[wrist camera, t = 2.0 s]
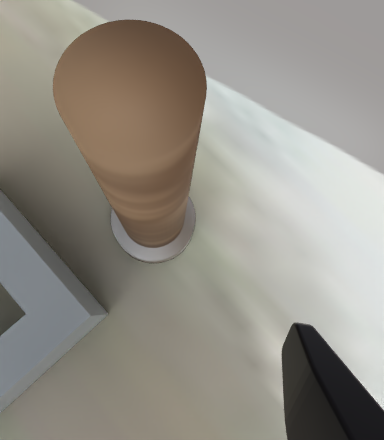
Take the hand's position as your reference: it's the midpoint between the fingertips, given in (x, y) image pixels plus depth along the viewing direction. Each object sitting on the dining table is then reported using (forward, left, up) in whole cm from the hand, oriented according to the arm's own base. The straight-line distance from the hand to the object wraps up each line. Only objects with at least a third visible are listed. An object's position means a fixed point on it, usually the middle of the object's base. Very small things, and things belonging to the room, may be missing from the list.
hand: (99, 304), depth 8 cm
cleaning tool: (+4, +3, -11) cm, 12 cm away
